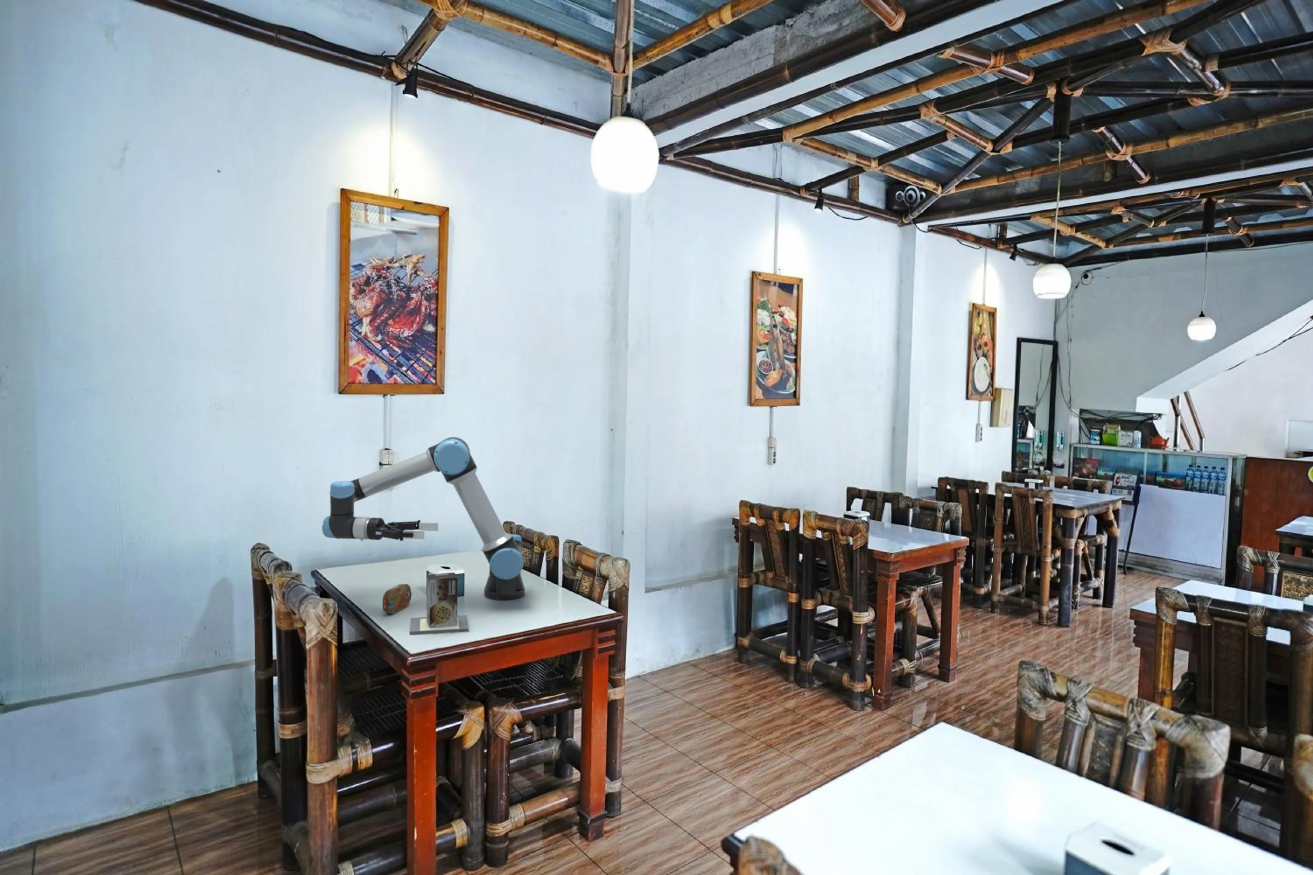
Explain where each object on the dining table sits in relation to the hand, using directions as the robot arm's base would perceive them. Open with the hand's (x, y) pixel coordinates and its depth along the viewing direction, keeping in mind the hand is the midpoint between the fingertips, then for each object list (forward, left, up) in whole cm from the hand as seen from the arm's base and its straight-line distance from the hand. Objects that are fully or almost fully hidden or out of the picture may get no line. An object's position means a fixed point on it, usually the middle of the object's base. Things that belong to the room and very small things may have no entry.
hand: (431, 530), depth 254 cm
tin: (+11, -6, -29) cm, 32 cm away
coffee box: (-4, +15, -28) cm, 32 cm away
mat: (-3, +13, -29) cm, 32 cm away
